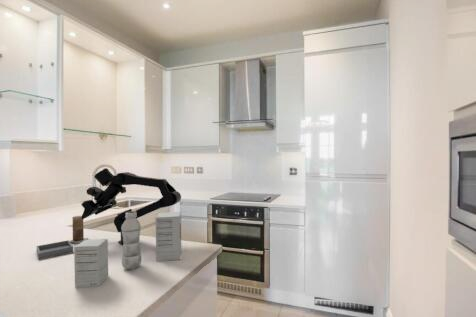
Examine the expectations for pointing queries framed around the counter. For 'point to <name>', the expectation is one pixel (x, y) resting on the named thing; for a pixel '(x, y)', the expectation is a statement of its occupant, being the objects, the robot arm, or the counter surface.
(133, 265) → the plastic bottle
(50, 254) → the tray
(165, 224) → the supplement box
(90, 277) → the supplement box
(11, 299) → the counter surface
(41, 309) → the counter surface
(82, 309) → the counter surface
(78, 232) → the scraper handle
